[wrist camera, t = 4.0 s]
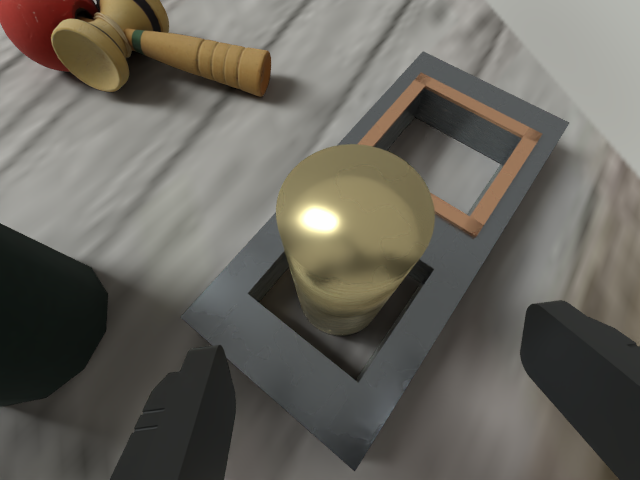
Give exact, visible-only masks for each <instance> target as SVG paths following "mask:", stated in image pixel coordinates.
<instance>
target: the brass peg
mask: <svg viewBox="0 0 640 480" xmlns="http://www.w3.org/2000/svg"><path fill="white" fill-rule="evenodd" d="M276 220H277V226H278V230H279V233H280V237H281V240H282V244H283V247H284V250H285V254H286V257H287V261H288V264H289V267H290V271H291V274H292V278H293V281H294V284H295V288H296V291H297V295H298V298H299V302H300V305H301V308H302V311H303V313H304V315H305V316H306V318H307V319H308V320H309V322H310V323H311V324H312V325H313V326H315V327H316V328H317V329H319V330H321V331H323V332H325V333H328V334H331V335H338V336H343V335H350V334H354V333H356V332H358V331H360V330H362V329H364V328H365V327H366V326H367V325H368V324H370V323H371V321H372V320H373V319H374V317H375V316H376V315H377V314H378V312H379V311H380V310H381V308H382V307H383V306H384V304H385V303H386V302H387V301H388V299H389V298H390V297H391V295H392V294H393V293H394V291H395V290H396V289H397V287H398V286H399V285H400V284H401V282H402V281H403V280H404V278H405V277H406V276H407V274H408V273H409V272H410V270H411V269H412V268H413V267H414V265H415V264H416V263H417V261H418V260H419V259H420V257H421V256H422V255H423V253H424V252H425V250H426V248H427V247H428V245H429V243H430V240H431V238H432V234H433V230H434V224H435V210H434V204H433V200H432V197H431V194H430V192H429V189H428V187H427V186H426V184H425V182H424V181H423V179H422V178H421V176H420V175H419V174H418V173H417V172H416V171H415V170H414V168H413V167H411V166H410V165H409V164H408V163H407V162H405V161H404V160H402V159H401V158H399V157H398V156H396V155H394V154H392V153H390V152H388V151H385V150H383V149H380V148H376V147H373V146H367V145H358V144H347V145H338V146H333V147H329V148H326V149H323V150H321V151H318V152H316V153H314V154H312V155H310V156H308V157H307V158H306V159H304V160H303V161H301V162H300V163H299V164H298V165H297V166H296V167H295V168H294V169H293V170H292V171H291V172H290V174H289V175H288V176H287V178H286V179H285V181H284V183H283V185H282V187H281V189H280V192H279V195H278V199H277V205H276Z"/></svg>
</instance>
